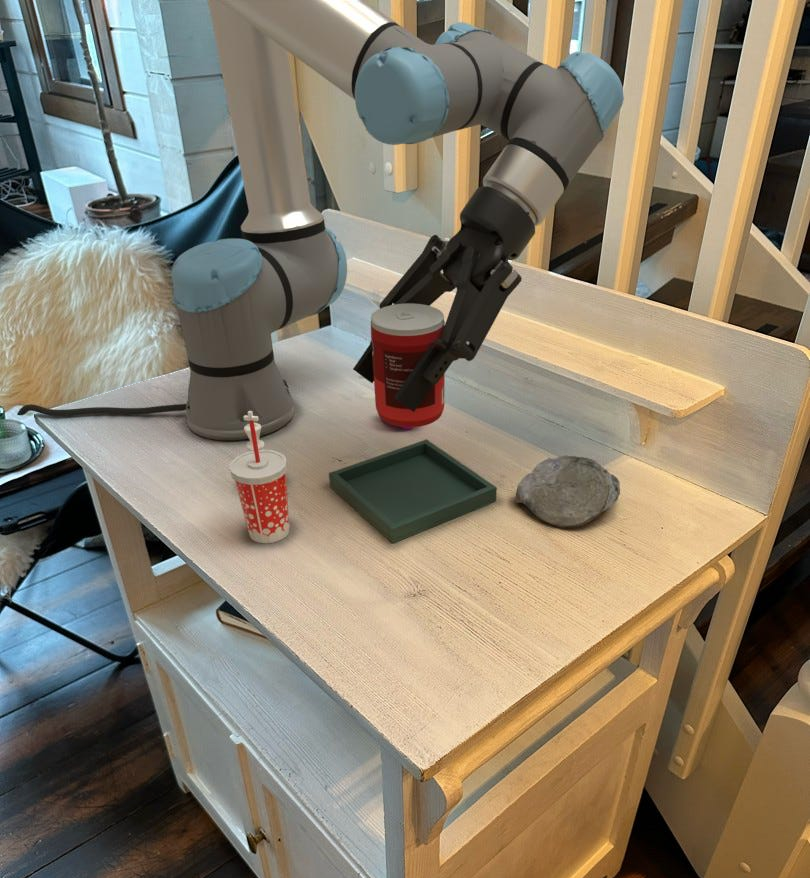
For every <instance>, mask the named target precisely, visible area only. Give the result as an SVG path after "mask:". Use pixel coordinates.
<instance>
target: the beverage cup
mask: <svg viewBox="0 0 810 878" xmlns="http://www.w3.org/2000/svg"><path fill="white" fill-rule="evenodd" d="M249 424H250V430H251V436H252V442H253V448H254V451H252V450H250V451H246V452H243V453H242V454H239V455H237V456H236V457H235V458H233V460H232V461H230V464H229V467H228V468H229V471H230V475H231V477H232V479H233V480H234V482H235V486H236V489H237V494H238V497H239V501H240V505H241V509H242V513H243V516H244V520H245V524H246V528H247V531H248V534H249V535H248V536H249V538H250V539H251V540H252V541H254V542H255V543H259V544H274V543H277V542H281V541H282V540H283V539H285V538H286V537H287V536H288V535H289V534H290V530H291V529H290V512H289V498H288V486H287V485H288V484H287V471H288V459H287V458H286V456H285V455H284V454H283V453H282V452H279V451H277V450H272V449H260V450H258V444H257V438H256V432H255V426H254V421H253V420H250V421H249Z"/></svg>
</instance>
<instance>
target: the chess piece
mask: <svg viewBox="0 0 810 878" xmlns="http://www.w3.org/2000/svg"><path fill="white" fill-rule="evenodd" d="M244 420H247V421H250V420H253V421H258V420H259V418H258V416H253V411H248V416H247V415H245V416H244ZM254 426H255V432H256V438H257V444H258V450H261V449H262V448H264V447H265V443H264V441H263V440H262V439H260V437H261V436H260V431H261V425H260V424H258V423H254ZM244 430H245V432H246V434H247V435H248V438H249V439H248V440H249V441H247V442H246V448H247V450H250V451H254V448H253V442H252V436H251V430H250V424H247V425H246V426H245V427H244Z"/></svg>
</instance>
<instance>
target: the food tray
mask: <svg viewBox="0 0 810 878" xmlns="http://www.w3.org/2000/svg"><path fill="white" fill-rule="evenodd" d="M328 479H329V487H330V489H332V490H333V491H334V492H335V493H336V494H337V495H339V496H340V497H341V498H342V499H343V500H344V501H345V502H346V503H347V504H348V505H350V506H351V507H352V508H353V509H354V510H355V511H356V512H357V513H359V514H360V515H361V516H362V517H363V518H364V519H365V520H366V521H367V522H368V523H370V524H371V525H372V526H373V527H374V528H375V529H376V530H377V531H378V532H380V533H381V534H382V535H383V536H384V537H385V538H387V540H388V541H389V542H391V543H392V544H395V543H398V542H400V541H402V540H405V539H407V538H409V537H413V536H415V535H417V534H420V533H422V532H424V531H427V530H429V529H432V528H434V527H437V526H439V525H442V524H444V523H447V522H449V521H452V520H454V519H456V518H459V517H462V516H464V515H466V514H468V513H471V512H473V511H476V510H478V509H481V508H483V507H485V506H488V505H491V504H494V503H495V502H497V491H498V489H497V486H496V485H494V484H492V483H491V482H490V481H488V480H487V479H485V478H484V477H482V476H481V475H479V474H478V473H477V472H475V471H473V470H472V469H471V468H469V467H468V466H466V465H465V464H463V463H462V462H460V461H459V460H457V459H456V458H455V457H453V456H452V455H450V454H449V453H447V452H446V451H444V450H443V449H441V448H440V447H438V445H435V444H434V443H433V442H431V441H430V440H429V439H424V440H423V439H422V440H419V441H418V442H415V443H412V444H409V445H406V446H403V447H401V448H397V449H395V450H392V451H389V452H386V453H383V454H380V455H377V456H375V457H374V456H373V457H372V458H368V459H365V460H363V461H359V462H357V463H354V464H351V465H348V466H345V467H342V468H340V469H336V470H334V471H331V472H328Z"/></svg>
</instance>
